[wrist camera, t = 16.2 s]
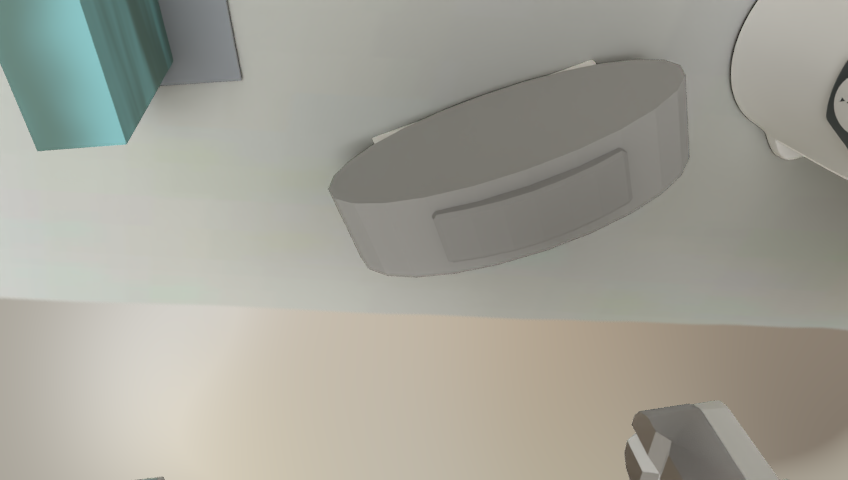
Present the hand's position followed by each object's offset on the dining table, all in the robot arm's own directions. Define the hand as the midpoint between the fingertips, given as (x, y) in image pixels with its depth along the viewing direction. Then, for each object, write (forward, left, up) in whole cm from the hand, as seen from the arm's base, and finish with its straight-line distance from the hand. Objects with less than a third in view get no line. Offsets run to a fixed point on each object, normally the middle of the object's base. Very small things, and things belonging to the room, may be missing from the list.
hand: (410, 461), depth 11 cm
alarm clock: (-10, +10, -34) cm, 37 cm away
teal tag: (+13, 0, -34) cm, 36 cm away
